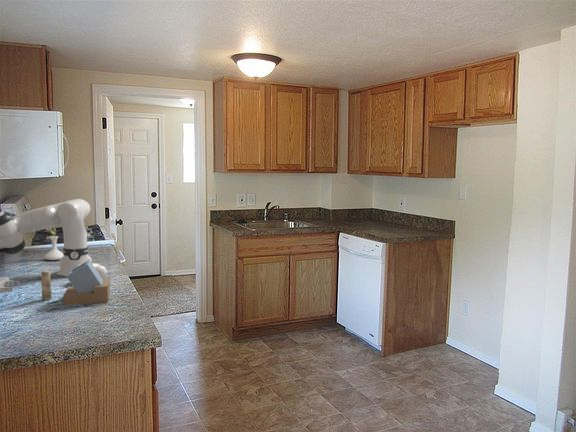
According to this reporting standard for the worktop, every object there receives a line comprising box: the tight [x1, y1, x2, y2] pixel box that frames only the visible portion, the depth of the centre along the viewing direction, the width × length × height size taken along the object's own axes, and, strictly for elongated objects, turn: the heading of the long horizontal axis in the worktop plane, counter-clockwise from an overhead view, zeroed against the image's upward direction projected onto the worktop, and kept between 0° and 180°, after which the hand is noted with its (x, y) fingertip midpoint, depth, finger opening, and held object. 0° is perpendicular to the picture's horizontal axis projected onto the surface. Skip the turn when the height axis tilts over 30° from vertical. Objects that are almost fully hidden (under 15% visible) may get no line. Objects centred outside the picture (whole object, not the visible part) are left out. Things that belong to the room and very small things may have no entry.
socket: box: [62, 260, 111, 306], centre depth 201 cm, size 14×17×16 cm
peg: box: [40, 270, 52, 302], centre depth 199 cm, size 3×3×12 cm
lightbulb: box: [95, 264, 108, 279], centre depth 218 cm, size 6×6×11 cm
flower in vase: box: [43, 227, 64, 261], centre depth 278 cm, size 13×11×25 cm
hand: (15, 285), depth 196 cm, fingers open, 8 cm apart
